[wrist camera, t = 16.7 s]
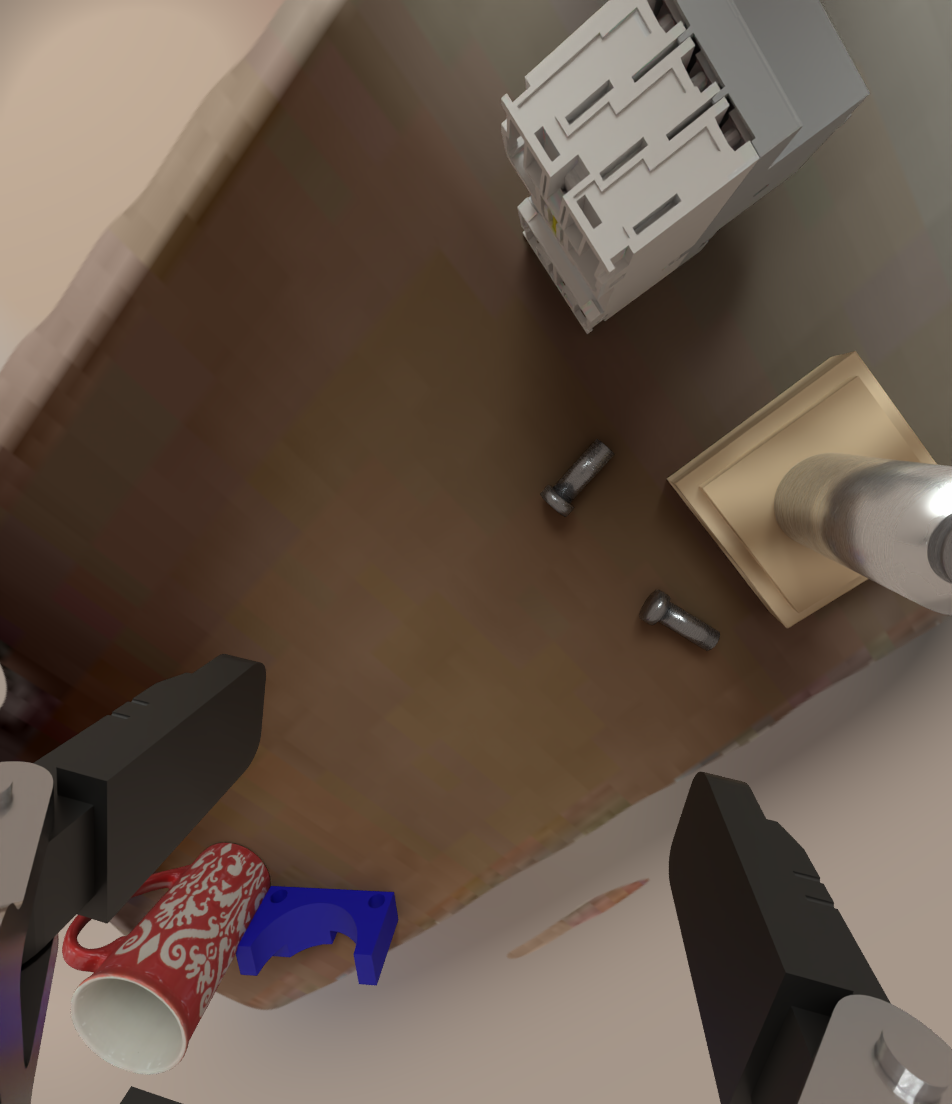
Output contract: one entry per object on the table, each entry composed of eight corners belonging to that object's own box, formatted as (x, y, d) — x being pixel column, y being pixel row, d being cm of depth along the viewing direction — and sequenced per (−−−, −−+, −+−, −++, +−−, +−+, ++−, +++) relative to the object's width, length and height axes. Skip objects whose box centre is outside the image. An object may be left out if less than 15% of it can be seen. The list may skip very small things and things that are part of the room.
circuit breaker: (795, 181, 32) (986, -14, 18) (587, 334, 36) (603, 276, 21) (729, 64, 31) (872, -238, 17) (523, 233, 35) (495, 103, 21)
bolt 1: (565, 513, 39) (566, 519, 36) (540, 491, 39) (539, 496, 36) (617, 457, 37) (622, 459, 35) (591, 433, 37) (594, 435, 35)
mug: (296, 868, 50) (204, 1024, 37) (257, 929, 52) (158, 1096, 40) (180, 794, 50) (47, 926, 37) (146, 859, 53) (10, 1004, 40)
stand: (666, 478, 37) (678, 485, 33) (830, 356, 34) (865, 348, 30) (770, 612, 38) (793, 634, 34) (939, 506, 35) (985, 517, 31)
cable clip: (279, 925, 52) (244, 988, 46) (270, 886, 51) (233, 945, 45) (400, 933, 50) (379, 1000, 44) (394, 892, 49) (371, 955, 43)
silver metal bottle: (754, 494, 33) (880, 540, 20) (841, 432, 31) (1036, 441, 18) (809, 565, 33) (965, 655, 20) (897, 508, 32) (1124, 566, 19)
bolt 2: (637, 611, 40) (642, 624, 37) (656, 585, 39) (662, 595, 37) (699, 649, 39) (707, 663, 37) (719, 623, 39) (729, 636, 36)
